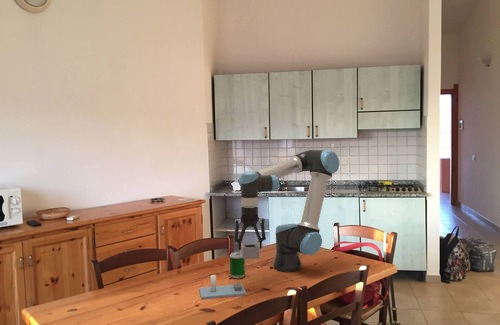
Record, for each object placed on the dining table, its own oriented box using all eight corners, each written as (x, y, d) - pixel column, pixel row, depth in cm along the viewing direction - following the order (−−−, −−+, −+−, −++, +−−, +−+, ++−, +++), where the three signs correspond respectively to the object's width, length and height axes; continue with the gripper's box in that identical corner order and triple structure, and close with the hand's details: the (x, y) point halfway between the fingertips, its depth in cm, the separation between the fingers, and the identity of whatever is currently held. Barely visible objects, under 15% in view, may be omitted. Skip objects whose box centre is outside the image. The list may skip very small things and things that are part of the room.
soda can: (243, 279, 209) (242, 255, 208) (228, 278, 211) (228, 255, 210) (246, 274, 216) (246, 251, 216) (232, 273, 218) (231, 250, 217)
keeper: (242, 286, 200) (241, 269, 199) (246, 295, 188) (246, 277, 187) (199, 289, 196) (199, 272, 196) (201, 299, 184) (200, 281, 184)
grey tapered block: (256, 254, 198) (256, 243, 198) (259, 258, 191) (259, 247, 191) (241, 255, 197) (241, 244, 196) (244, 259, 190) (243, 248, 190)
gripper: (268, 204, 198) (269, 252, 199) (226, 205, 195) (227, 255, 196) (272, 206, 191) (273, 257, 192) (229, 208, 187) (229, 259, 188)
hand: (250, 256), depth 194 cm, fingers closed on grey tapered block, 7 cm apart
